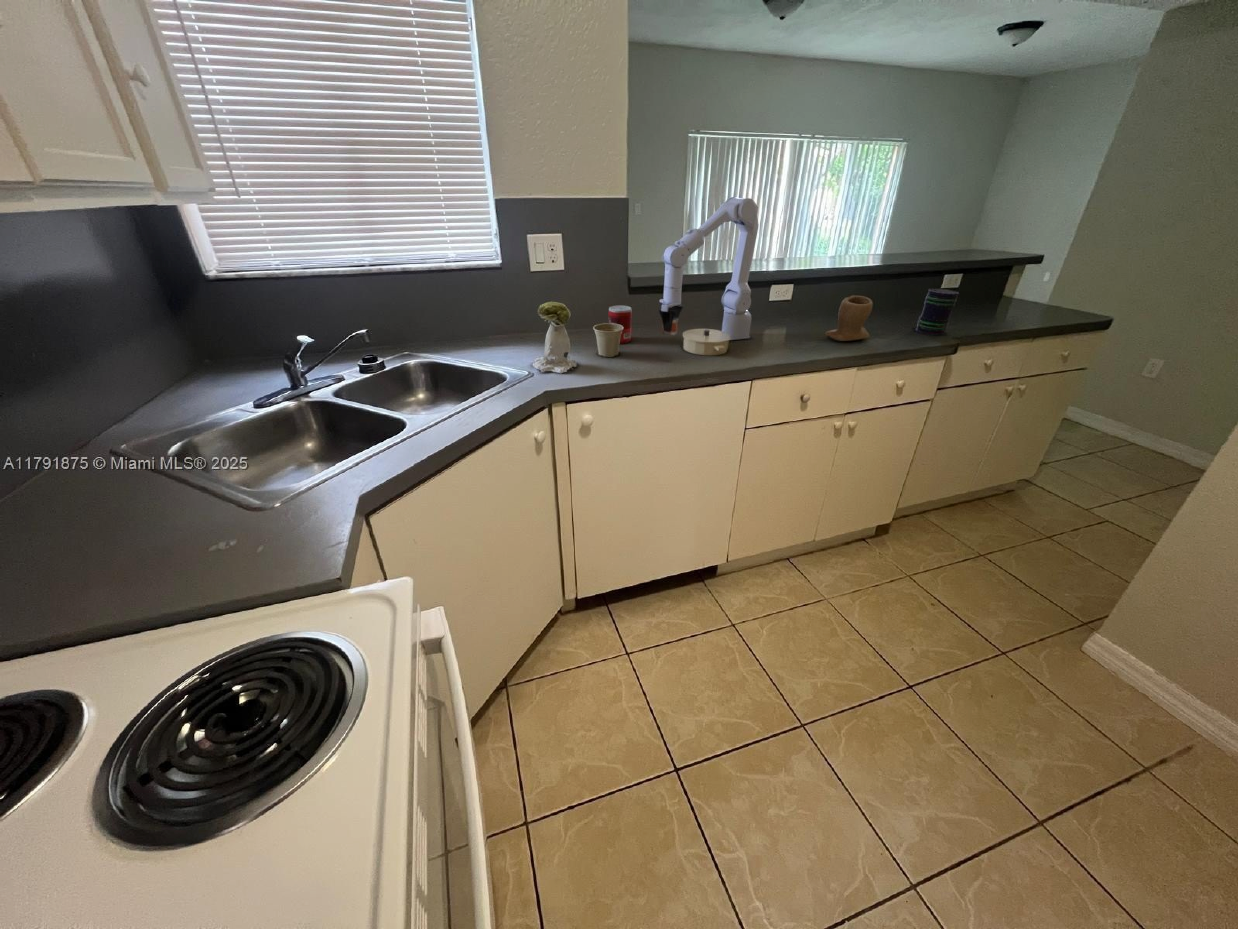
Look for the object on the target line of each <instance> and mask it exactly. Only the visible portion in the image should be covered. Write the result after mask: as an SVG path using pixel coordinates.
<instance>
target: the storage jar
mask: <svg viewBox="0 0 1238 929" xmlns="http://www.w3.org/2000/svg"><path fill="white" fill-rule="evenodd" d="M959 294H960V292H959V291H957V290H954V289H948V288H939V287H938V288H935V287H934V288H928V293H927V294H926V296H925V298H924V302H923V309H922V311H921V313H920V315H919V317H918V320H917V324H916V328H915V331H916V332H918V333H920V334H924V335H929V336H943V335H944V334H945V332H946V330H947V327H948V325H949V322H950V316H951V314H952V311H953V309H954V308H955V305H956V304H957V299H958V296H959Z"/></svg>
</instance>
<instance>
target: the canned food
mask: <svg viewBox="0 0 1238 929" xmlns="http://www.w3.org/2000/svg"><path fill="white" fill-rule="evenodd" d="M632 311H633V310H632V307H631V306H628V305H622V304H621V305H612V306H609V307H608V323H612V324H619V325H621V326H623V328H624V329H623V330H622V334H621V337H620V344H627V343H629V342H630V341H631V339H632V338H631V337H632ZM620 344H619V345H620Z"/></svg>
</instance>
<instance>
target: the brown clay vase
mask: <svg viewBox="0 0 1238 929" xmlns="http://www.w3.org/2000/svg"><path fill="white" fill-rule="evenodd" d="M872 310H873V300H872V298H869V297H866V296H863V295H850V296H848V297H844V298H843V300H842V301H841V303H840V306H839V309H838V314H837V320H838V321H837V322H838V323H837V328H836V329H831V330H827V331H826V332H825V335H826V337H828V338H830V339H831V340H835V341H839V342H850V341H858V340H866V339H870V338H871V337H870V334H869V332H868V330H866V328H865V327H863V326H864V324H865V323H866V322H867V319H868V318H869V316H870V315H871V313H872Z"/></svg>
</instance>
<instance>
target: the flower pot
mask: <svg viewBox="0 0 1238 929" xmlns="http://www.w3.org/2000/svg"><path fill="white" fill-rule="evenodd" d="M592 329H593V331H594V334H595V338H596V344H597V351H598V355H599V356H602V357H604V358H614V357H615V356H618V355H619V350H620V337H621V334H622V330H623V329H624V328H623V326H621V325H619V324H612V323H609V322H607V323H606V322H604V323H597V324H595V325H594V326H593V327H592Z"/></svg>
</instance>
